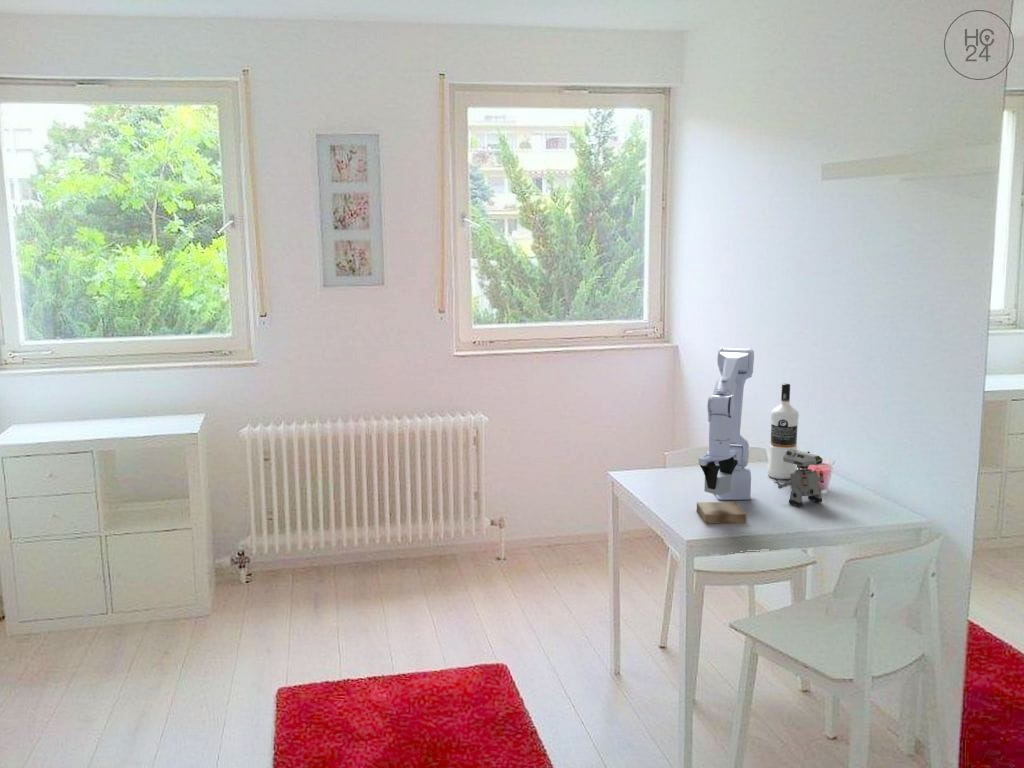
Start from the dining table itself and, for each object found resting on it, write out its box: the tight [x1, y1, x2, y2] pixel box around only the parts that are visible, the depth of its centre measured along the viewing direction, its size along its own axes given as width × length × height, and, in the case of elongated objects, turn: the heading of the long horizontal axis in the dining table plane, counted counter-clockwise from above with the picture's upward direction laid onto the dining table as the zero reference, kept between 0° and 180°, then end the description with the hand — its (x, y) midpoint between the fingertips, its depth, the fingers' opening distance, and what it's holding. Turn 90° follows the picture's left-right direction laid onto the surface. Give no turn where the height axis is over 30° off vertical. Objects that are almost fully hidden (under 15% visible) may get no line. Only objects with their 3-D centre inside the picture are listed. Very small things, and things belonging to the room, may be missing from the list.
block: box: [704, 471, 731, 496], centre depth 254 cm, size 5×5×5 cm
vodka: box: [766, 383, 800, 480], centre depth 291 cm, size 9×9×30 cm
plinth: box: [696, 501, 747, 525], centre depth 254 cm, size 11×11×2 cm
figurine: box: [774, 449, 825, 508], centre depth 266 cm, size 9×12×15 cm
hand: (718, 486), depth 254 cm, fingers closed on block, 5 cm apart
